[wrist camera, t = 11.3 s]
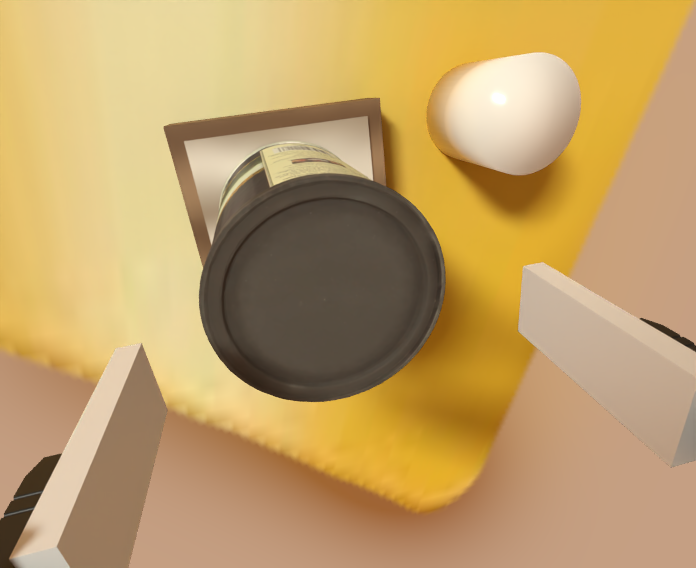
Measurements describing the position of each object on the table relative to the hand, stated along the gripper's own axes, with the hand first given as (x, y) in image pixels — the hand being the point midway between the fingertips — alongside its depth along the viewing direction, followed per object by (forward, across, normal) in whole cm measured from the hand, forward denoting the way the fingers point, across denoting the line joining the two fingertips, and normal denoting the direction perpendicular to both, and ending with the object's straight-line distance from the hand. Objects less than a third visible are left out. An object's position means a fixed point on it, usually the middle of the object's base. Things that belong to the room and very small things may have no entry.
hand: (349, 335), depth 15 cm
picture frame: (+20, 0, -1) cm, 21 cm away
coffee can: (+17, 0, 0) cm, 17 cm away
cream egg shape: (+21, +15, +4) cm, 26 cm away
